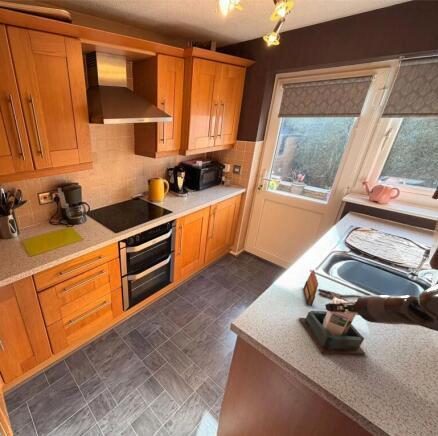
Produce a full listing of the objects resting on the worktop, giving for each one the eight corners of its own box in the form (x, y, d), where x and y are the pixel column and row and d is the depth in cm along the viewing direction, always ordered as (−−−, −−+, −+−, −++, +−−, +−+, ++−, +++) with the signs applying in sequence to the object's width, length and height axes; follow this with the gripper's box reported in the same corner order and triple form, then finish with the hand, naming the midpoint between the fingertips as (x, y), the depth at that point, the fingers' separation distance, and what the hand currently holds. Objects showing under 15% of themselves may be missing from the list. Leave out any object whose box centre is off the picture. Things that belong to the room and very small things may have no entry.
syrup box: (320, 336, 83) (334, 306, 77) (321, 325, 87) (334, 295, 81) (340, 344, 80) (356, 314, 74) (339, 332, 84) (354, 302, 78)
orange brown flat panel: (303, 288, 107) (310, 267, 102) (307, 290, 106) (315, 269, 101) (306, 304, 98) (315, 282, 93) (311, 306, 97) (320, 284, 92)
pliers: (383, 313, 92) (325, 303, 97) (382, 315, 93) (325, 305, 97) (369, 296, 101) (317, 288, 106) (368, 298, 101) (316, 289, 106)
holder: (335, 321, 90) (340, 309, 88) (364, 355, 78) (371, 343, 75) (298, 319, 91) (303, 308, 88) (321, 353, 78) (327, 341, 76)
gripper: (404, 296, 66) (357, 297, 81) (352, 294, 66) (315, 295, 82) (413, 324, 63) (363, 320, 78) (360, 322, 64) (320, 318, 79)
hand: (338, 307), depth 80 cm, fingers closed on syrup box, 7 cm apart
